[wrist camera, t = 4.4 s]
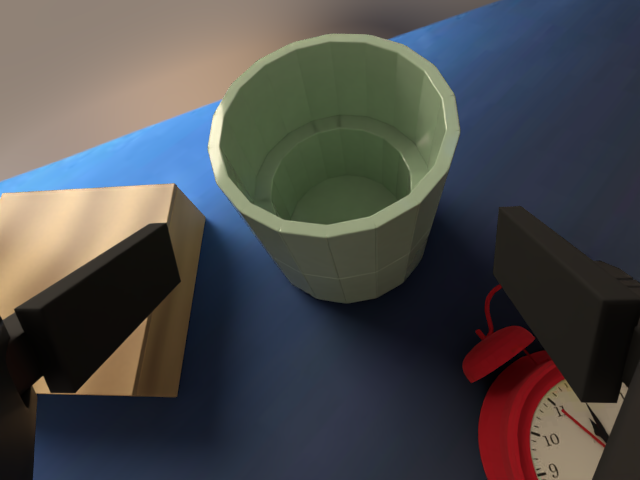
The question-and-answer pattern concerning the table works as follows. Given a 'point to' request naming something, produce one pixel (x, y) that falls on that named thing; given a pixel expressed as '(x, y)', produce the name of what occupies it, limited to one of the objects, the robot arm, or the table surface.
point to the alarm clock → (534, 412)
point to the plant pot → (337, 160)
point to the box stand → (86, 244)
